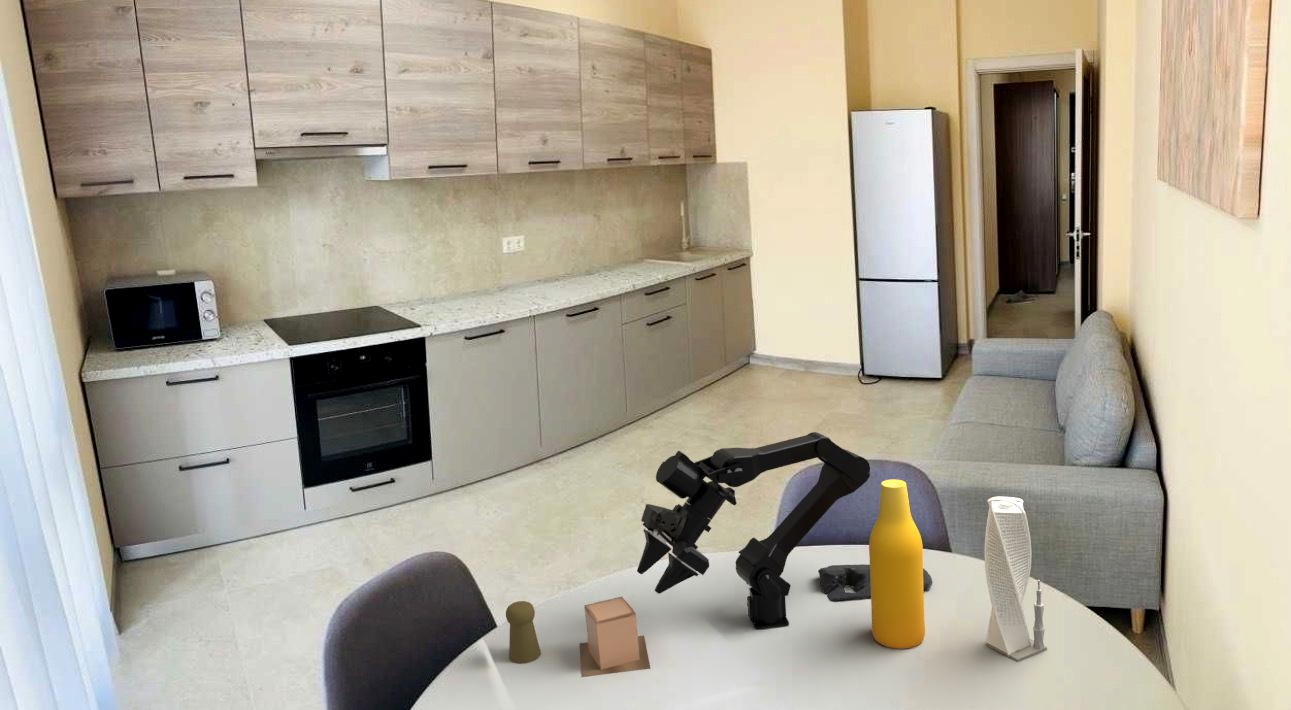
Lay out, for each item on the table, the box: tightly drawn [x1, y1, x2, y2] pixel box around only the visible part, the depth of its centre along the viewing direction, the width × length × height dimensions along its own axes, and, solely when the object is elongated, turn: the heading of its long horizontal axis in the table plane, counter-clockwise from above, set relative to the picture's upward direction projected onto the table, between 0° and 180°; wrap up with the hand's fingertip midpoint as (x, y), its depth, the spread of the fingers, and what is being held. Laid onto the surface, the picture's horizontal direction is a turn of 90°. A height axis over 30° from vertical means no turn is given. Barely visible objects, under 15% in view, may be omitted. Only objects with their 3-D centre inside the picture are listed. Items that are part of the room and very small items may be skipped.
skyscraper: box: [984, 496, 1048, 663], centre depth 163 cm, size 8×8×28 cm
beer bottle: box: [868, 479, 926, 650], centre depth 169 cm, size 9×9×29 cm
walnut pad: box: [579, 635, 651, 678], centre depth 172 cm, size 12×12×1 cm
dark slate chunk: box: [817, 563, 933, 602], centre depth 193 cm, size 15×22×5 cm
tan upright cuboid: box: [584, 596, 640, 670], centre depth 171 cm, size 7×7×9 cm
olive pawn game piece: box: [505, 600, 542, 665], centre depth 173 cm, size 6×6×11 cm
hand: (647, 582), depth 172 cm, fingers open, 9 cm apart
